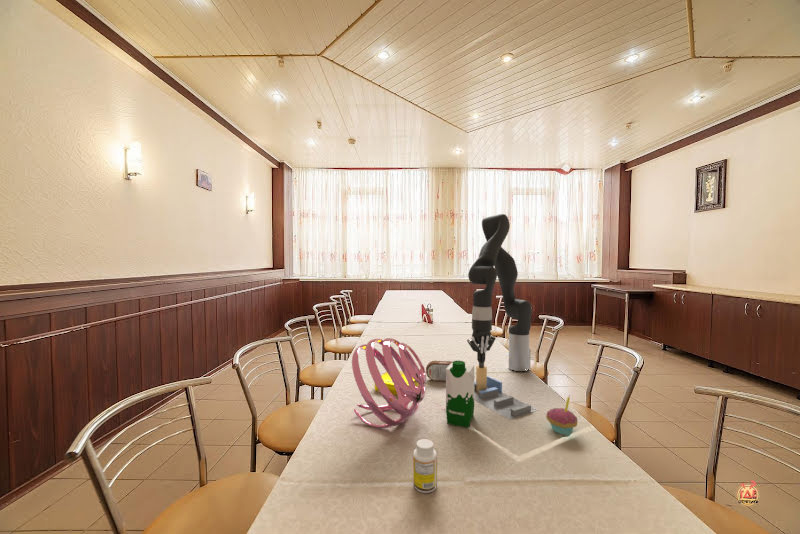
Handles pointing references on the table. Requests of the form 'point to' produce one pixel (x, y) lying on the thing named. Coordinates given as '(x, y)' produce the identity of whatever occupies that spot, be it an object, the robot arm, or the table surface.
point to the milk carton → (459, 393)
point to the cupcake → (562, 419)
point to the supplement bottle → (425, 466)
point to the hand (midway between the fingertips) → (481, 362)
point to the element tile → (390, 383)
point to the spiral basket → (403, 389)
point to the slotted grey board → (501, 400)
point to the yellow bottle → (481, 377)
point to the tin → (437, 370)
